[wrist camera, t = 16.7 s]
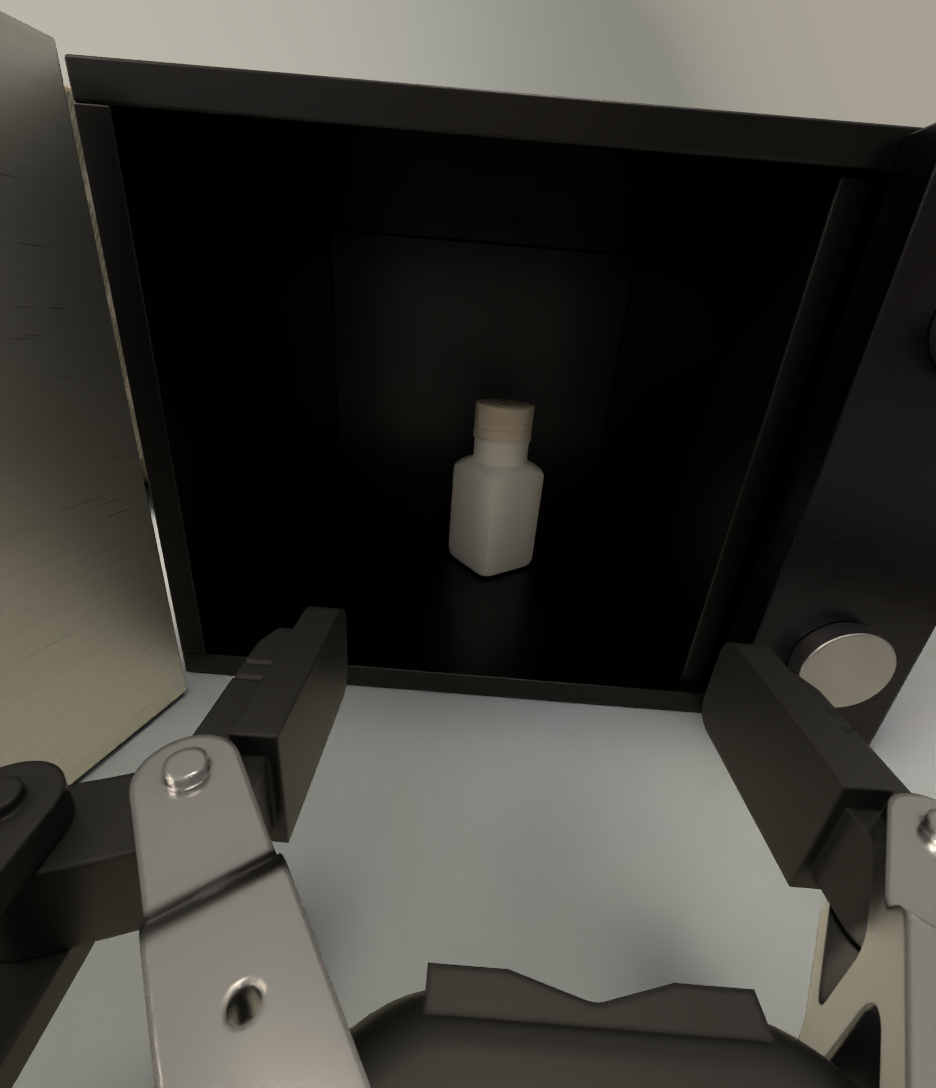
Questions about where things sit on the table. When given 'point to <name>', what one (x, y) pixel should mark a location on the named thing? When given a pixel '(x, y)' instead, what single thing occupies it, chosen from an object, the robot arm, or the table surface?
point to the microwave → (526, 376)
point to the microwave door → (66, 456)
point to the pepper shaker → (496, 491)
